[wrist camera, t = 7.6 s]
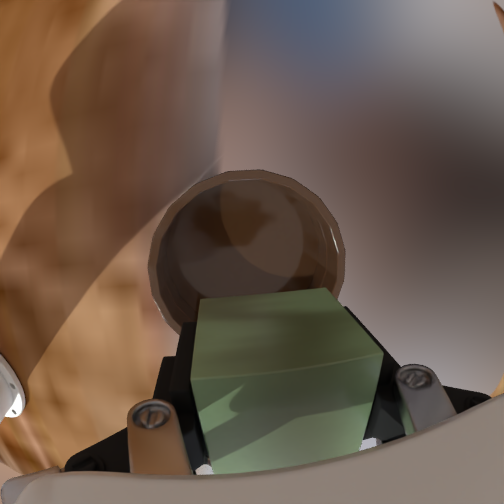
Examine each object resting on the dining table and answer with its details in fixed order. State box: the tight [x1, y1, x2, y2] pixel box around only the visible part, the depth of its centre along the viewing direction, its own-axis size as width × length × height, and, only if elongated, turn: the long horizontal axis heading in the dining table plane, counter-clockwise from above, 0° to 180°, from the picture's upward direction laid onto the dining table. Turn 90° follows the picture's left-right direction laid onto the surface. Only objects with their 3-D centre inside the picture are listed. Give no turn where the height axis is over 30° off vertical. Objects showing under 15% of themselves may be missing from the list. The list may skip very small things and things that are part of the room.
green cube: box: [190, 288, 384, 474], centre depth 9 cm, size 4×4×4 cm
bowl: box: [148, 170, 345, 335], centre depth 22 cm, size 13×13×5 cm
